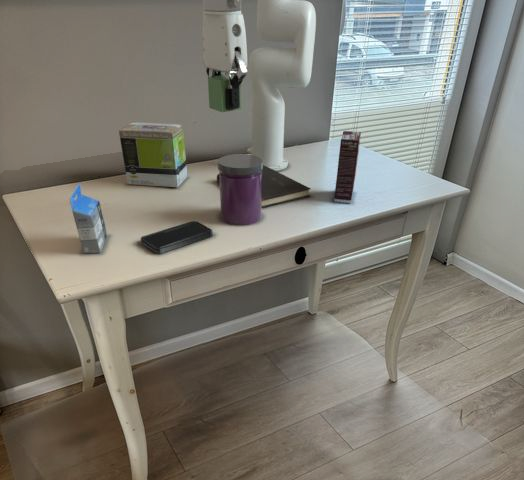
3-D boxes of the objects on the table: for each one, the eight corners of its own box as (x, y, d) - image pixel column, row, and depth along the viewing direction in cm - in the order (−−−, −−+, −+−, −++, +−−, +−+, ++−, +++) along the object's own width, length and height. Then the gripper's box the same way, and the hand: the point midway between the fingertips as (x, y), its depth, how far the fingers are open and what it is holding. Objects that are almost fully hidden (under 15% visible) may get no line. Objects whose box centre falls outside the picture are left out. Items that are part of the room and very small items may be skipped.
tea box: (188, 177, 145) (183, 123, 136) (177, 188, 137) (172, 132, 128) (139, 173, 147) (132, 120, 138) (126, 185, 139) (117, 129, 130)
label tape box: (101, 253, 106) (89, 197, 99) (81, 254, 106) (68, 198, 98) (107, 235, 113) (97, 182, 106) (89, 236, 113) (77, 182, 105)
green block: (209, 107, 108) (207, 77, 104) (228, 105, 110) (227, 74, 107) (222, 112, 105) (220, 80, 101) (241, 109, 107) (240, 78, 104)
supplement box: (351, 204, 130) (359, 140, 120) (333, 202, 131) (339, 139, 121) (353, 192, 137) (361, 131, 127) (336, 190, 137) (342, 130, 127)
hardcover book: (263, 172, 149) (263, 164, 147) (309, 196, 134) (310, 188, 132) (216, 182, 142) (216, 174, 140) (260, 208, 127) (260, 199, 125)
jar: (212, 215, 123) (209, 159, 115) (245, 205, 128) (244, 151, 120) (236, 229, 117) (235, 171, 108) (270, 218, 122) (272, 162, 113)
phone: (214, 231, 113) (157, 249, 105) (214, 235, 114) (157, 254, 106) (194, 220, 118) (138, 237, 110) (195, 224, 118) (139, 241, 110)
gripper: (263, 6, 93) (262, 111, 104) (213, 1, 103) (217, 97, 115) (231, 7, 89) (233, 116, 100) (182, 2, 100) (189, 101, 111)
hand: (225, 105), depth 107 cm, fingers closed on green block, 5 cm apart
